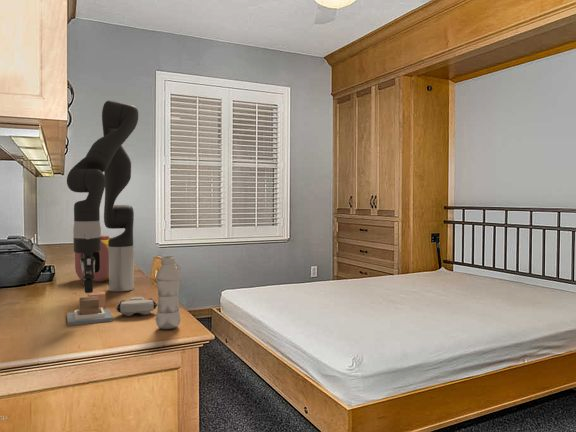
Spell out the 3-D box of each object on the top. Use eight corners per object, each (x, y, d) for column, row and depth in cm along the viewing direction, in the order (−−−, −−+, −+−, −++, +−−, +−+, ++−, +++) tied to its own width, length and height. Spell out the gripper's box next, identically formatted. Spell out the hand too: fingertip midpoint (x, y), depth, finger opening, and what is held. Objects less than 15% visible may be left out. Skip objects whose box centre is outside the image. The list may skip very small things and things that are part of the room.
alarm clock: (73, 280, 202) (72, 236, 201) (93, 276, 212) (92, 234, 211) (106, 283, 195) (105, 237, 194) (124, 279, 205) (124, 235, 204)
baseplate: (67, 315, 142) (66, 309, 142) (108, 311, 147) (108, 305, 147) (67, 325, 131) (67, 318, 131) (112, 320, 137) (112, 314, 137)
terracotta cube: (88, 307, 153) (87, 292, 153) (104, 305, 156) (104, 291, 155) (89, 310, 149) (88, 295, 149) (105, 309, 151) (105, 293, 151)
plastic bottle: (158, 325, 132) (157, 255, 131) (182, 324, 132) (182, 255, 132) (153, 331, 126) (152, 258, 125) (178, 331, 126) (178, 258, 125)
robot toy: (116, 311, 152) (115, 319, 138) (116, 297, 152) (115, 304, 138) (155, 308, 156) (158, 316, 142) (155, 295, 156) (158, 301, 142)
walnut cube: (79, 314, 140) (79, 297, 140) (97, 312, 143) (97, 296, 142) (80, 317, 136) (80, 301, 136) (98, 316, 138) (98, 299, 138)
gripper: (72, 234, 143) (73, 286, 144) (74, 238, 130) (74, 295, 131) (99, 233, 146) (99, 284, 147) (102, 237, 133) (103, 293, 134)
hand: (88, 289), depth 139 cm, fingers open, 8 cm apart
